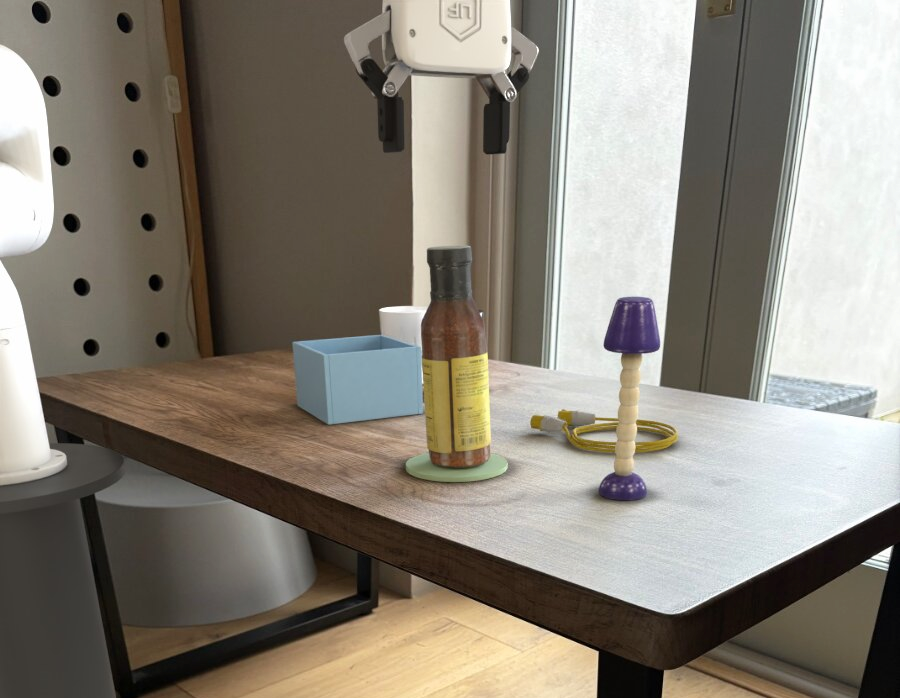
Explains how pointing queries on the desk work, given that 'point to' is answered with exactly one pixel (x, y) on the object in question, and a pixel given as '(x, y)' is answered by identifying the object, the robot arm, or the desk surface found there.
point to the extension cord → (587, 418)
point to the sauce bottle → (454, 364)
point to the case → (358, 378)
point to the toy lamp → (629, 388)
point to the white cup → (403, 324)
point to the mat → (428, 471)
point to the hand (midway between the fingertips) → (445, 153)
